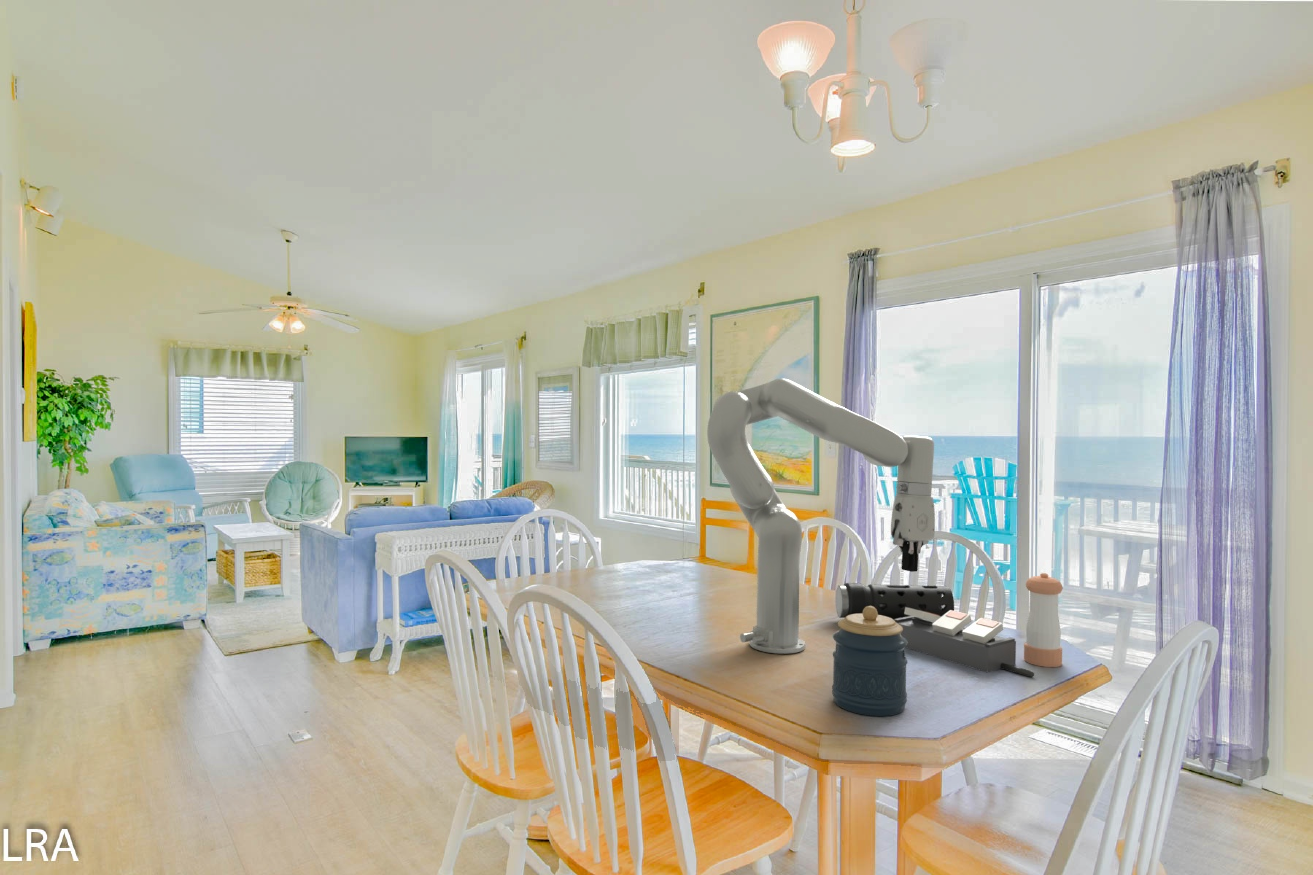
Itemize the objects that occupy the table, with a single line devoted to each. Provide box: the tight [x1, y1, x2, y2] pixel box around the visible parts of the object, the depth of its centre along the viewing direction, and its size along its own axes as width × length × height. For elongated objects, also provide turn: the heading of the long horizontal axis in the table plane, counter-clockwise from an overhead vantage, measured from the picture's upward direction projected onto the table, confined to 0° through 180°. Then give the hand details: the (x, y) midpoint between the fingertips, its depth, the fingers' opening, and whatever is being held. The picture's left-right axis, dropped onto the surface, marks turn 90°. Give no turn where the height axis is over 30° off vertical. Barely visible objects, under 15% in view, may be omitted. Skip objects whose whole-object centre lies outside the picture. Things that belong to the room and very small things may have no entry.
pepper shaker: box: [1023, 572, 1064, 668], centre depth 157 cm, size 7×7×19 cm
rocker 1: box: [904, 607, 941, 622], centre depth 169 cm, size 7×5×2 cm
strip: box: [894, 616, 1035, 678], centre depth 160 cm, size 10×31×6 cm, turn 33°
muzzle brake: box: [834, 582, 955, 620], centre depth 188 cm, size 10×28×10 cm, turn 89°
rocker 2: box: [932, 610, 972, 636], centre depth 163 cm, size 7×5×2 cm
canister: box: [831, 606, 908, 717], centre depth 131 cm, size 13×13×18 cm
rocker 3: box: [962, 617, 1004, 644], centre depth 156 cm, size 7×5×2 cm
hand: (909, 570), depth 166 cm, fingers closed
